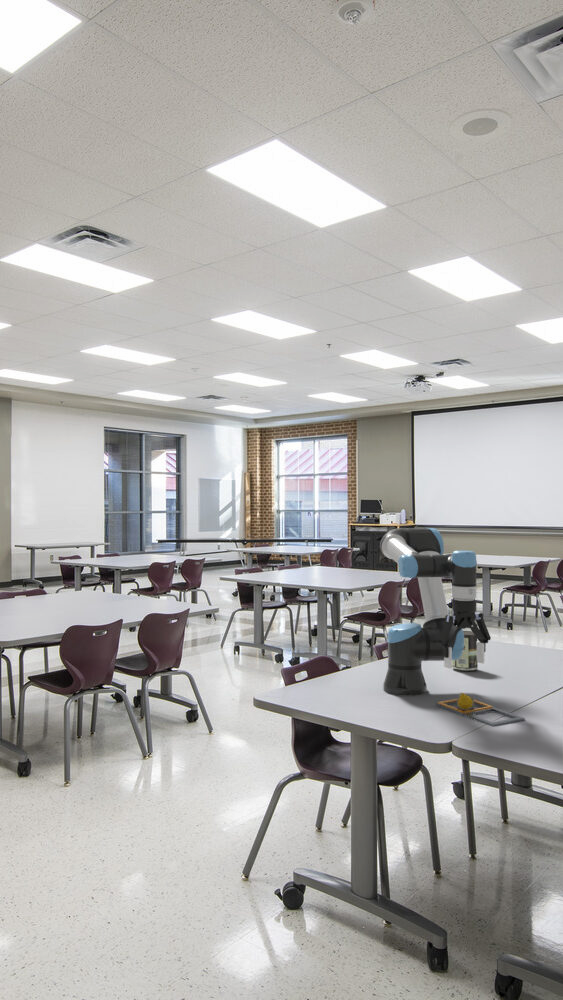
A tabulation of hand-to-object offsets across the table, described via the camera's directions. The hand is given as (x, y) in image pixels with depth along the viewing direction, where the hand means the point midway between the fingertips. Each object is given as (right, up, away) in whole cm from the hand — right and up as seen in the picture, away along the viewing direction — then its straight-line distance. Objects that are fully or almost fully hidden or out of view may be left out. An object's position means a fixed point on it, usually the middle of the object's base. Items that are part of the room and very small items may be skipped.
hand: (464, 665), depth 217 cm
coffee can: (+15, -15, +56) cm, 60 cm away
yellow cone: (+1, -14, -1) cm, 14 cm away
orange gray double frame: (+3, -14, -6) cm, 15 cm away
